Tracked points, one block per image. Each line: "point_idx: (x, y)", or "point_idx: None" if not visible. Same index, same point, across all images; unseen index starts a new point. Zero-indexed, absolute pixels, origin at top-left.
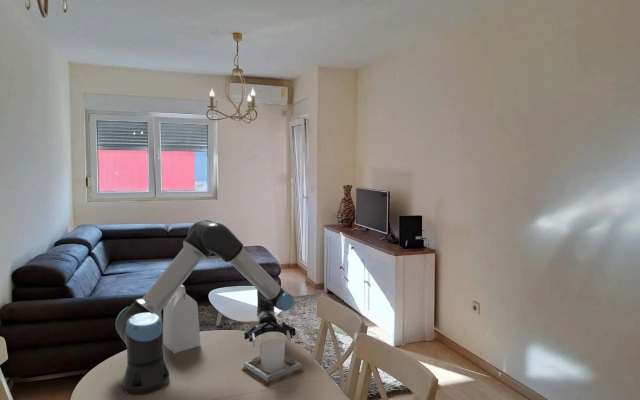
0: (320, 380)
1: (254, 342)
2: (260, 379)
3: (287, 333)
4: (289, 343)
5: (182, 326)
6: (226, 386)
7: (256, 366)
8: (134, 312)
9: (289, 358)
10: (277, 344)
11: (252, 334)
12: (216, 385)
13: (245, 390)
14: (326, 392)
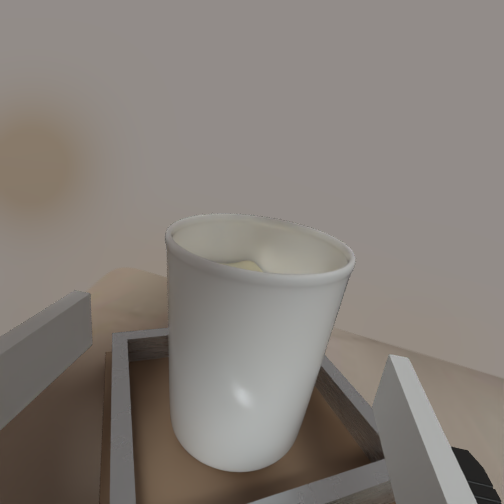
0: (102, 305)
1: (386, 376)
2: None
3: (11, 355)
4: (87, 342)
5: None
6: (447, 393)
7: (327, 472)
8: None
9: (120, 392)
10: (247, 232)
11: (466, 485)
12: (500, 415)
13: (363, 349)
14: (139, 274)
